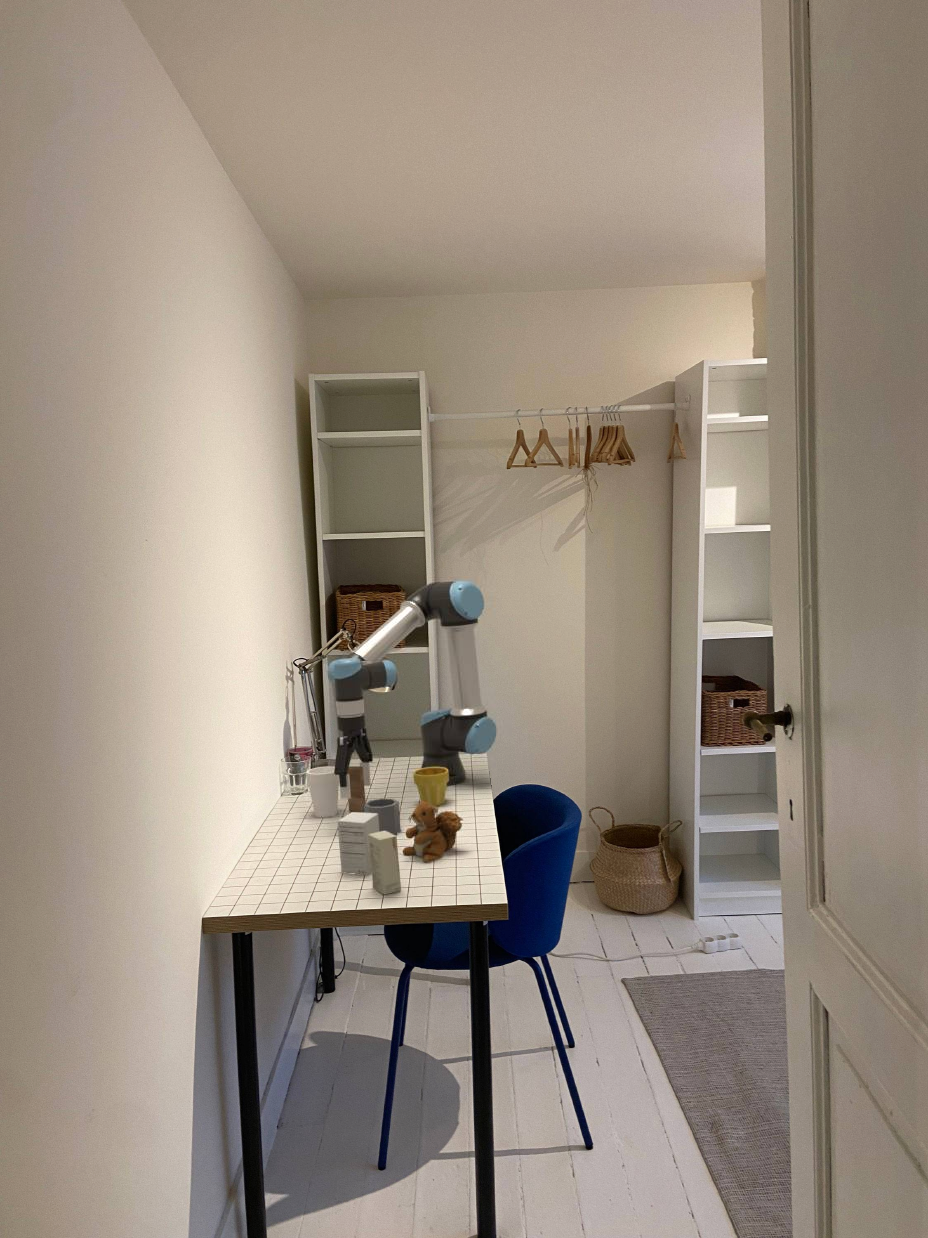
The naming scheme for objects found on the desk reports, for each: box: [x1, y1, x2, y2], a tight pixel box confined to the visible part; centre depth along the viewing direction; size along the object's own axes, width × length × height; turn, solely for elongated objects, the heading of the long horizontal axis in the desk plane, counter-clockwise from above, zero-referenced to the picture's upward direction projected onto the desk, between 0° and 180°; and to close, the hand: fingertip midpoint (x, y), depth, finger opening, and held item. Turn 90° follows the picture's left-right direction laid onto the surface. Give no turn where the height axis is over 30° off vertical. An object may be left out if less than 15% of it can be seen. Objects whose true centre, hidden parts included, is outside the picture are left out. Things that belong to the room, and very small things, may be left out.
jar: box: [364, 797, 402, 835], centre depth 235 cm, size 9×9×8 cm
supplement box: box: [336, 812, 379, 876], centre depth 207 cm, size 7×7×13 cm
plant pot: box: [412, 767, 449, 807], centre depth 260 cm, size 10×10×10 cm
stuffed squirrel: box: [402, 800, 464, 864], centre depth 215 cm, size 10×14×13 cm
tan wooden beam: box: [347, 765, 367, 814], centre depth 243 cm, size 2×4×16 cm, turn 72°
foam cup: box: [306, 766, 340, 819], centre depth 256 cm, size 10×9×13 cm
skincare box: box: [369, 831, 402, 895], centre depth 194 cm, size 6×4×12 cm
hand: (356, 791), depth 243 cm, fingers open, 12 cm apart
